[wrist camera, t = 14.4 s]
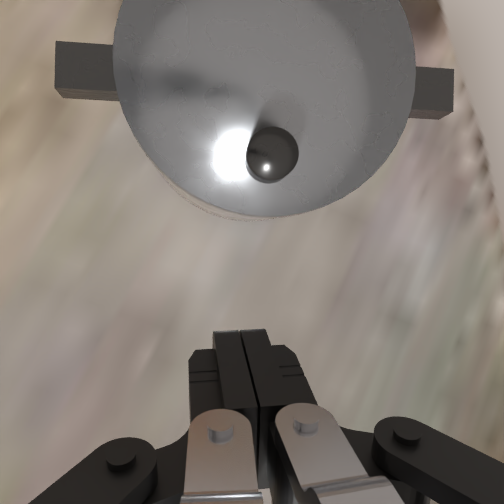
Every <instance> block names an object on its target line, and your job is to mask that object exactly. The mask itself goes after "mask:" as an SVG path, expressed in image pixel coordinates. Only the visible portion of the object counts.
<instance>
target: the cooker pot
mask: <svg viewBox="0 0 504 504" xmlns="http://www.w3.org/2000/svg"><path fill="white" fill-rule="evenodd" d="M55 89H56V90H57V91H58V92H59V94H60V95H61V96H62V97H63V98H72V99H89V100H107V101H119V97H118V94H117V90H116V84H115V78H114V73H113V45H105V44H91V43H77V42H63V41H56V48H55ZM453 93H454V69H444V68H430V67H416V79H415V92H414V97H413V102H412V106H411V111H410V114H409V117H408V118H420V119H438V120H439V119H441V118H443V117H444V116H446V115H448V114H450V113H451V112H453ZM161 174H162V173H161ZM162 175H163V174H162ZM163 177H164V178H165V179H166V181H167V182H168V183H169V184H170V185H171V186H172V188H173V189H174V190H176V191H177V192H178V193H179V194H180V195H181V196H182V197H183V198H185V199H186V200H187V201H189V202H190V203H192V204H193V205H195V206H196V207H198V208H200V209H202V210H204V211H206V212H208V213H211V214H214V215H216V216H219V217H223V218H227V219H231V220H239V221H262V220H268V219H274V218H259V217H249V216H242V215H238V214H233V213H229V212H225V211H222V210H220V209H217V208H214V207H212V206H209V205H207V204H205V203H203V202H201V201H199V200H197V199H195V198H193V197H192V196H190V195H188V194H187V193H186V192H184V191H183V190H181V189H180V188H178V187H177V186H176V185H174V184H173V183H172V182H171V181H170V180H169V179H168V178H167V177H165V176H164V175H163ZM276 218H277V217H276Z"/></svg>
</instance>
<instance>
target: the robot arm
mask: <svg viewBox="0 0 504 504" xmlns="http://www.w3.org/2000/svg"><path fill="white" fill-rule="evenodd" d="M188 363H189V406H190V426H189V429H188V431H187V432H186V433H185V435H184V436H182V437H181V438H180V439H179V440H177V441H176V442H174V443H172V444H170V445H168V446H165V447H162V448H159V449H156V450H155V449H154V448H153V446H152V445H151V444H150V443H148V442H147V441H145V440H142V439H139V438H131V437H127V438H119V439H115V440H112V441H109V442H107V443H105V444H103V445H101V446H100V447H98V448H97V449H96V450H94V451H93V452H92V453H91V454H89V455H88V456H87V457H86V458H84V459H83V460H82V461H81V462H79V463H78V464H77V465H76V466H74V467H73V468H72V469H71V470H70V471H68V472H67V473H66V474H65V475H63V476H62V477H61V478H60V479H58V480H57V481H56V482H55V483H53V484H52V485H51V486H50V487H48V488H47V489H46V490H45V491H43V492H42V493H41V494H40V495H38V496H37V497H36V498H35V499H34V500H32V501H31V502H30V503H29V504H263V497H262V493H261V492H258V489H265V488H270V492H271V497H272V501H271V504H430V498H431V499H432V500H434V501H436V502H437V503H439V504H504V463H502V462H500V461H498V460H496V459H494V458H492V457H490V456H488V455H486V454H484V453H482V452H480V451H478V450H475V449H473V448H471V447H469V446H467V445H465V444H463V443H461V442H459V441H457V440H455V439H453V438H451V437H449V436H447V435H445V434H443V433H441V432H439V431H437V430H435V429H433V428H431V427H429V426H427V425H425V424H423V423H421V422H419V421H416V420H414V419H410V418H406V417H388V418H385V419H382V420H381V421H379V422H378V423H377V424H376V426H375V428H374V433H368V432H362V431H355V430H350V429H346V428H343V427H340V426H339V425H338V423H337V421H336V420H335V418H334V417H333V415H332V414H331V413H330V412H329V411H327V410H326V409H324V408H322V407H320V406H318V404H317V402H316V400H315V397H314V395H313V393H312V391H311V388H310V386H309V384H308V382H307V379H306V377H305V376H304V372H303V370H302V368H301V367H300V363H299V361H298V359H297V357H296V354H295V353H294V352H292V351H291V350H290V349H289V348H287V347H286V346H285V345H272V346H271V343H270V341H269V338H268V335H267V332H266V330H265V329H252V330H240V331H238V330H234V331H214V332H213V349H202V350H195V351H194V353H193V354H192V356H191V357H190V359H189V360H188Z"/></svg>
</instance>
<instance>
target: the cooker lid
mask: <svg viewBox="0 0 504 504" xmlns="http://www.w3.org/2000/svg"><path fill="white" fill-rule="evenodd" d="M113 73H114V78H115V84H116V90H117V94H118V97H119V101H120V104H121V107H122V110H123V113H124V115H125V117H126V120H127V122H128V124H129V126H130V128H131V130H132V132H133V134H134V136H135V138H136V140H137V142H138V143H139V145H140V146H141V148H142V149H143V151H144V152H145V154H146V156H147V157H148V158H149V159H150V160H151V162H152V163H153V164H154V165H155V166H156V167H157V169H158V170H159V171H160V172H161V173H162V174H163V175H164V176H165V177H167V178H168V179H169V180H170V181H171V182H172V183H173V184H174V185H176V186H177V187H178V188H180V189H181V190H183V191H184V192H186V193H187V194H188V195H190V196H192V197H193V198H195V199H197V200H199V201H201V202H203V203H205V204H207V205H209V206H212V207H214V208H217V209H220V210H222V211H225V212H229V213H233V214H238V215H242V216H249V217H259V218H276V217H287V216H293V215H299V214H303V213H306V212H309V211H312V210H316V209H319V208H321V207H324V206H326V205H328V204H330V203H333V202H335V201H337V200H339V199H341V198H343V197H345V196H346V195H348V194H349V193H351V192H352V191H354V190H355V189H357V188H358V187H360V186H361V185H362V184H363V183H364V182H365V181H367V180H368V179H369V178H370V177H371V176H372V175H373V174H374V173H375V172H376V171H377V170H378V169H379V168H380V167H381V165H382V164H383V163H384V162H385V161H386V159H387V158H388V156H389V155H390V154H391V152H392V151H393V149H394V148H395V146H396V144H397V142H398V140H399V138H400V136H401V134H402V132H403V130H404V128H405V125H406V123H407V120H408V117H409V114H410V111H411V106H412V102H413V97H414V92H415V79H416V62H415V50H414V44H413V39H412V34H411V30H410V27H409V24H408V20H407V17H406V14H405V12H404V10H403V8H402V5H401V3H400V1H399V0H123V3H122V5H121V8H120V11H119V14H118V19H117V23H116V27H115V31H114V42H113Z"/></svg>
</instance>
